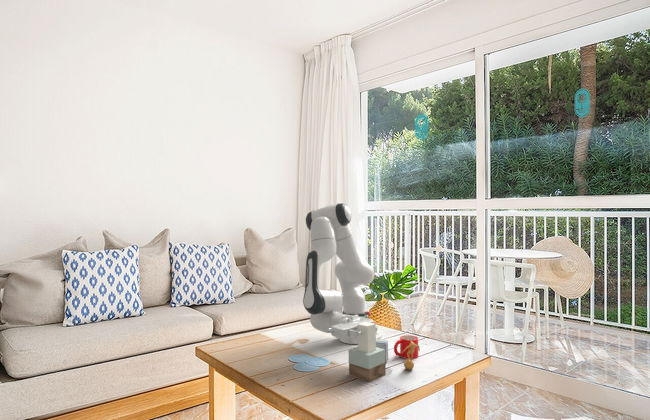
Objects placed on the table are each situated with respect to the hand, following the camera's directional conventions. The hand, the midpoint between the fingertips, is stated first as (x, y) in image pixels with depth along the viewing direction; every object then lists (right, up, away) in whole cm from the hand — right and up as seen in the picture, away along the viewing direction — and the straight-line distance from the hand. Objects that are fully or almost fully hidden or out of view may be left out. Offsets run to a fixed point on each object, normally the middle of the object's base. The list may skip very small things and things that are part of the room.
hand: (368, 331), depth 163 cm
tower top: (-1, -12, +1) cm, 12 cm away
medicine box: (+6, -18, +17) cm, 25 cm away
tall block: (-1, -7, +1) cm, 7 cm away
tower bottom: (0, -17, +1) cm, 17 cm away
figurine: (+17, -17, +5) cm, 25 cm away
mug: (+18, -18, +22) cm, 34 cm away
